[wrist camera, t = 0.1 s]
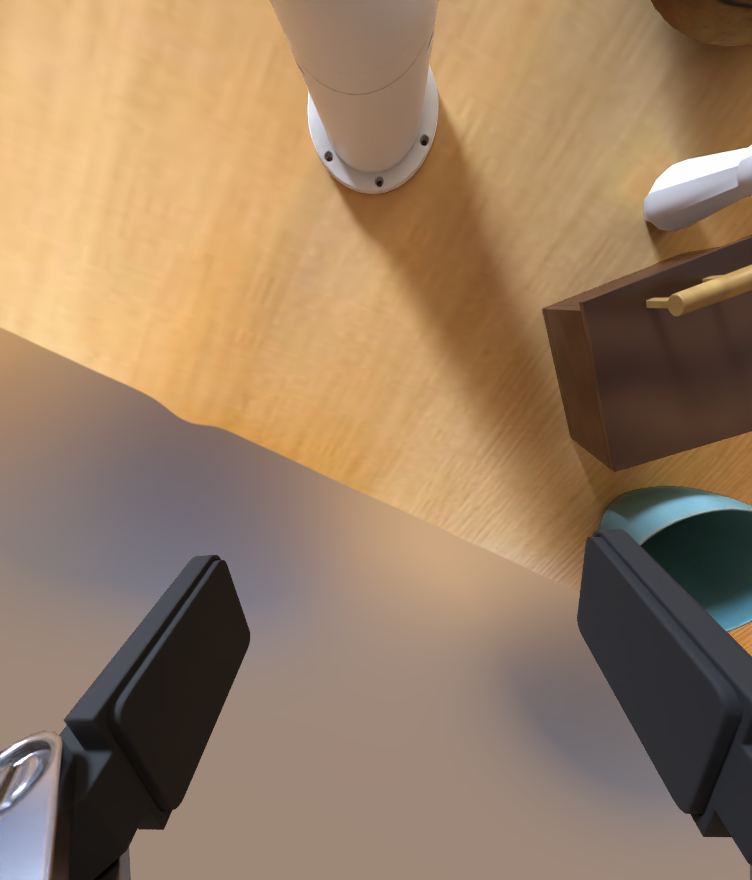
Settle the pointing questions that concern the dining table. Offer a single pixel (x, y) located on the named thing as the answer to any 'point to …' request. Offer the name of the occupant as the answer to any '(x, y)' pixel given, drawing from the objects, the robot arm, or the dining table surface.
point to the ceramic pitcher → (710, 19)
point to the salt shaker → (698, 189)
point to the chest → (585, 360)
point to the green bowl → (694, 544)
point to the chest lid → (674, 356)
